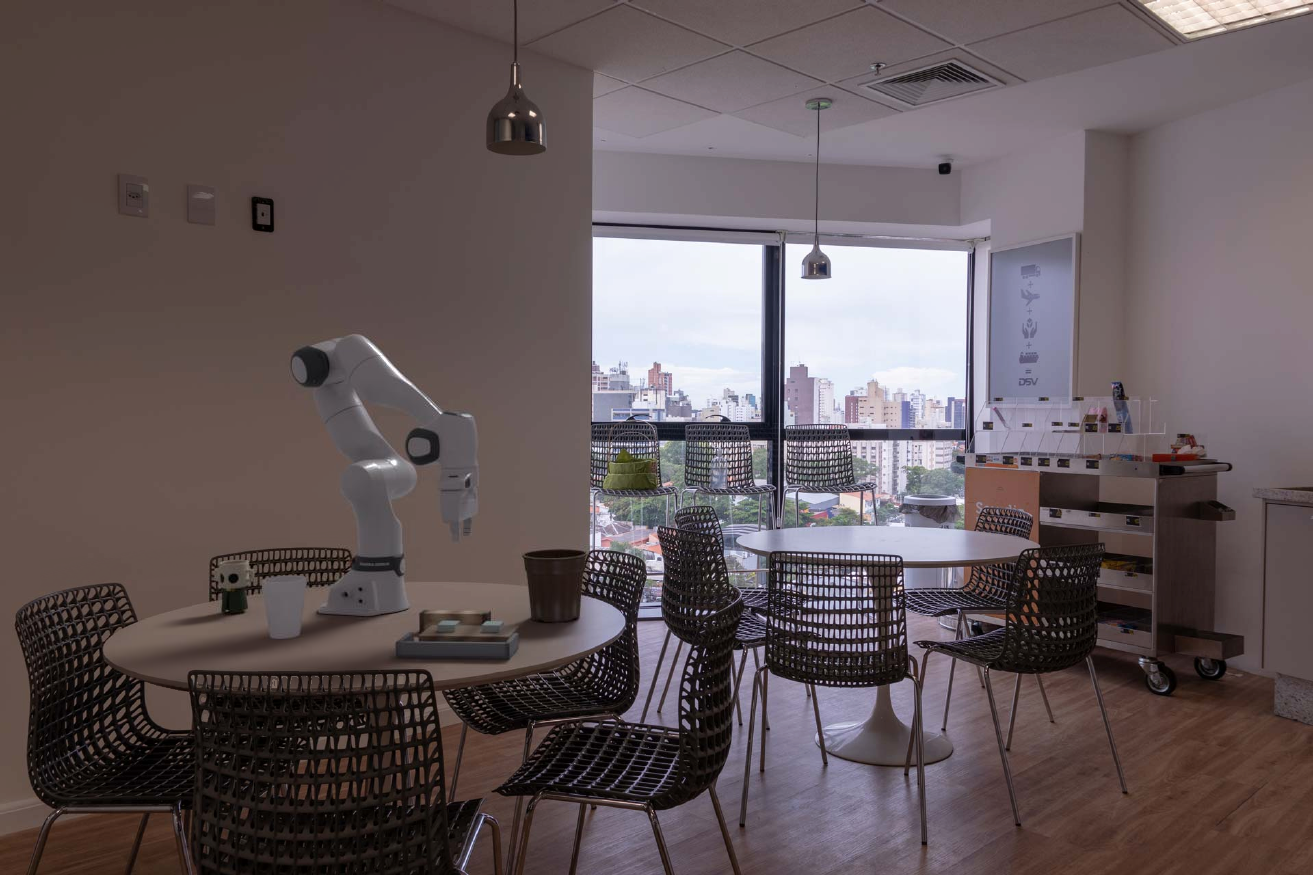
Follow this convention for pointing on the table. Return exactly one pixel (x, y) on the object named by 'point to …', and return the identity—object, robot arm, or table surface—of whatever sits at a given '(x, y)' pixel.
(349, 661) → the table surface
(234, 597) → the character mug
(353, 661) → the table surface
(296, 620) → the foam cup
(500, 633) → the board
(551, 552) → the plant pot
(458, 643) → the tray
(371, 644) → the table surface
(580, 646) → the table surface
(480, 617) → the brown wooden block
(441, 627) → the tile
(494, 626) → the tile
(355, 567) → the robot arm
